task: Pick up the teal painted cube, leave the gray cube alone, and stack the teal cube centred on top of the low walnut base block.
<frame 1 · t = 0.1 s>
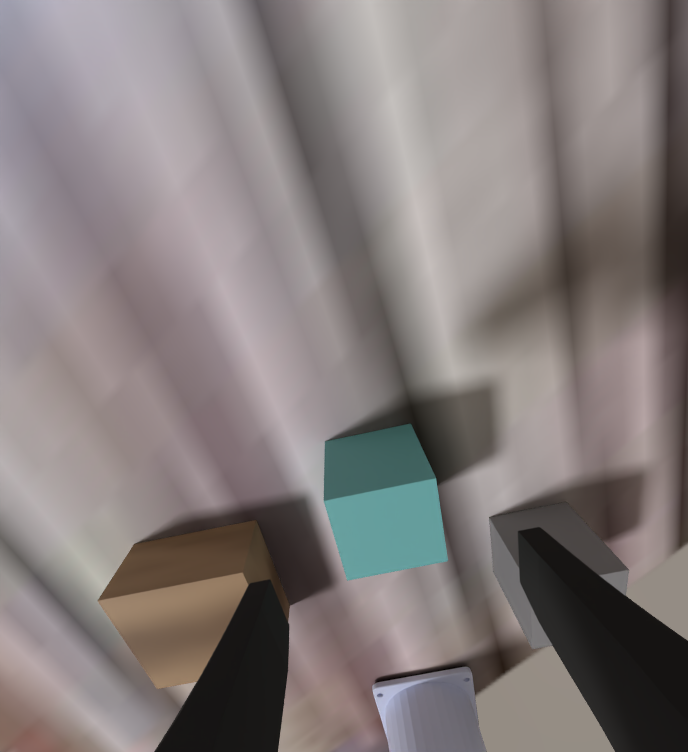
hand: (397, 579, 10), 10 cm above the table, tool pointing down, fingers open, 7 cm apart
teal cube: (375, 467, 21), on the table
base block: (217, 573, 23), on the table
gray cube: (527, 537, 23), on the table
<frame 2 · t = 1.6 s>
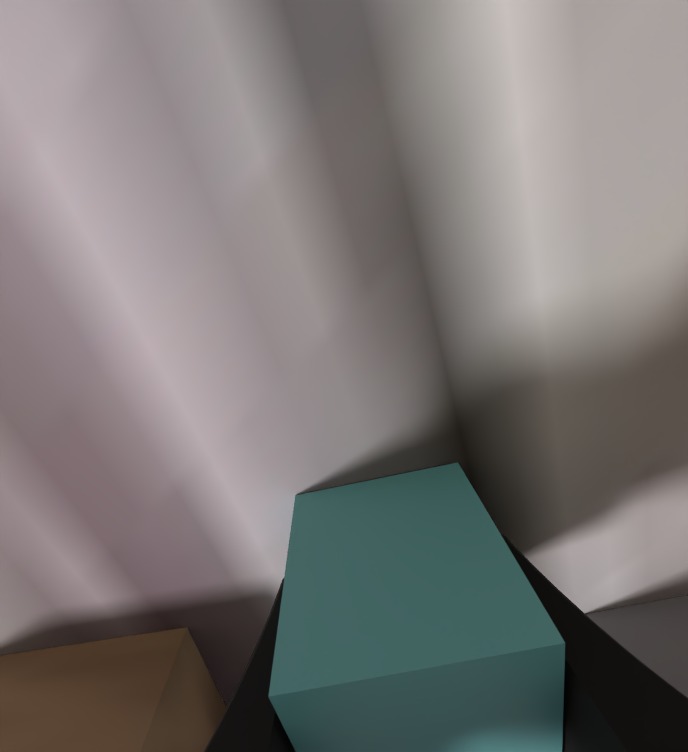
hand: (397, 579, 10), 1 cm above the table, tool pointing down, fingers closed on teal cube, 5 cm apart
teal cube: (389, 540, 11), on the table, touching gripper
base block: (125, 698, 14), on the table
gray cube: (640, 642, 14), on the table
when the fingers open (7 cm above the table, at t = 4.8 s): teal cube drops 2 cm, point 4 cm above the table.
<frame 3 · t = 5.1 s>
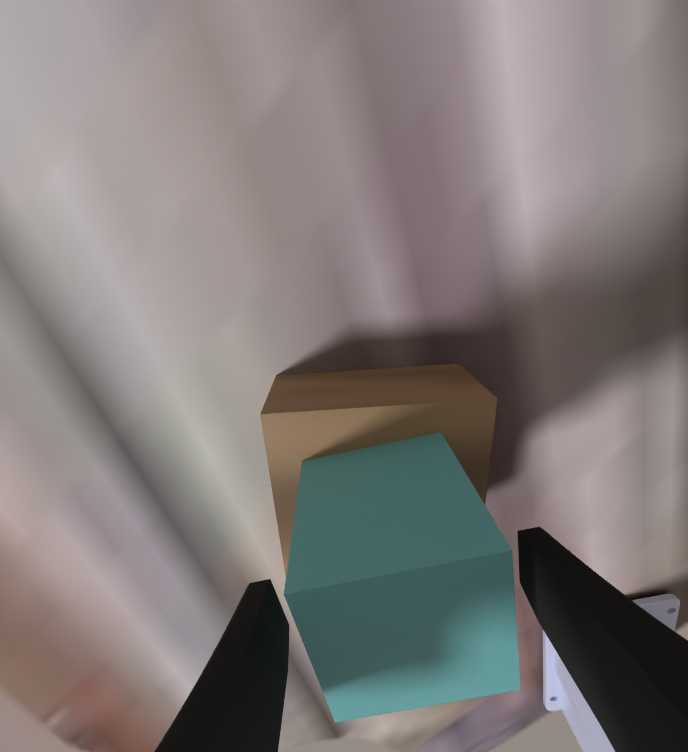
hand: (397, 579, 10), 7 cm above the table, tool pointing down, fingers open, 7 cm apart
teal cube: (383, 502, 13), point 4 cm above the table
base block: (369, 444, 17), on the table
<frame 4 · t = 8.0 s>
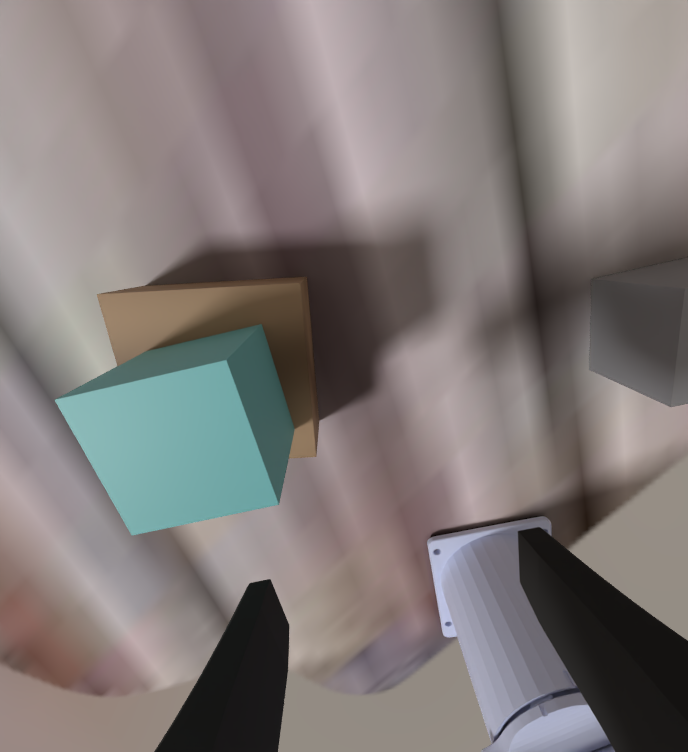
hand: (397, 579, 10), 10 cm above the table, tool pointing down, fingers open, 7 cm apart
teal cube: (224, 392, 15), point 4 cm above the table
base block: (240, 356, 19), on the table
gray cube: (636, 315, 18), on the table
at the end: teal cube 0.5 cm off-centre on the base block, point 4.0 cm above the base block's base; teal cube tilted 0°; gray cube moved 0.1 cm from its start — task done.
